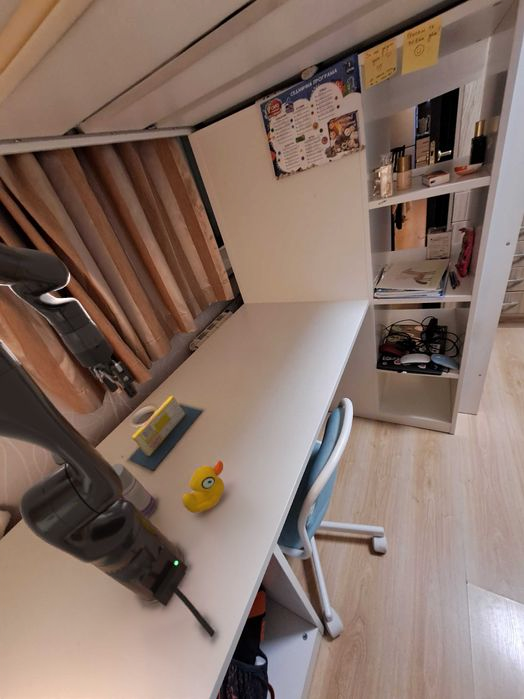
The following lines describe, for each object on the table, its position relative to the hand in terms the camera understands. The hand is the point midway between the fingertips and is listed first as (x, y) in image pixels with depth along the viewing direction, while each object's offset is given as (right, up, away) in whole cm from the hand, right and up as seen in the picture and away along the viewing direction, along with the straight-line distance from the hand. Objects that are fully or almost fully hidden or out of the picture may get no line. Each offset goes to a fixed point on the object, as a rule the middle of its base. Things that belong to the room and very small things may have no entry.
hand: (124, 393), depth 75 cm
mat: (+7, -15, +13) cm, 21 cm away
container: (+8, -27, -6) cm, 29 cm away
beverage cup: (-12, -25, +7) cm, 29 cm away
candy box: (+7, -14, +13) cm, 21 cm away
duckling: (+25, -23, -9) cm, 35 cm away
